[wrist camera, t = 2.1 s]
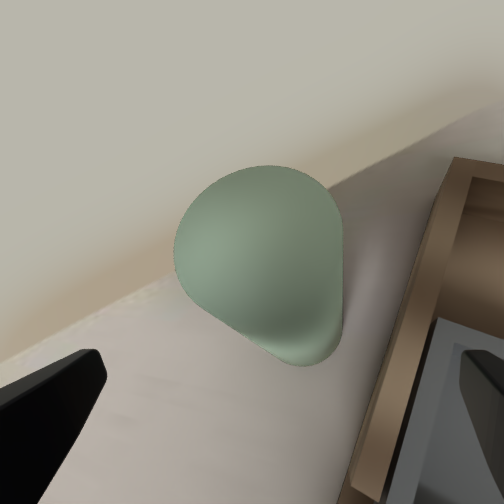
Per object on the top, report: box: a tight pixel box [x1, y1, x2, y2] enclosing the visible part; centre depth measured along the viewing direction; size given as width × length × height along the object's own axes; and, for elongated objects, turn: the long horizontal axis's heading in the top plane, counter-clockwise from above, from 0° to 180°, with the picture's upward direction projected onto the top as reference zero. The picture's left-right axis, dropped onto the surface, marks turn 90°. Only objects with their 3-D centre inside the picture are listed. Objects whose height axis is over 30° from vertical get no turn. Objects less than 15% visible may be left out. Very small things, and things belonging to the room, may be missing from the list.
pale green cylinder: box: [174, 166, 343, 366], centre depth 13 cm, size 5×5×11 cm
